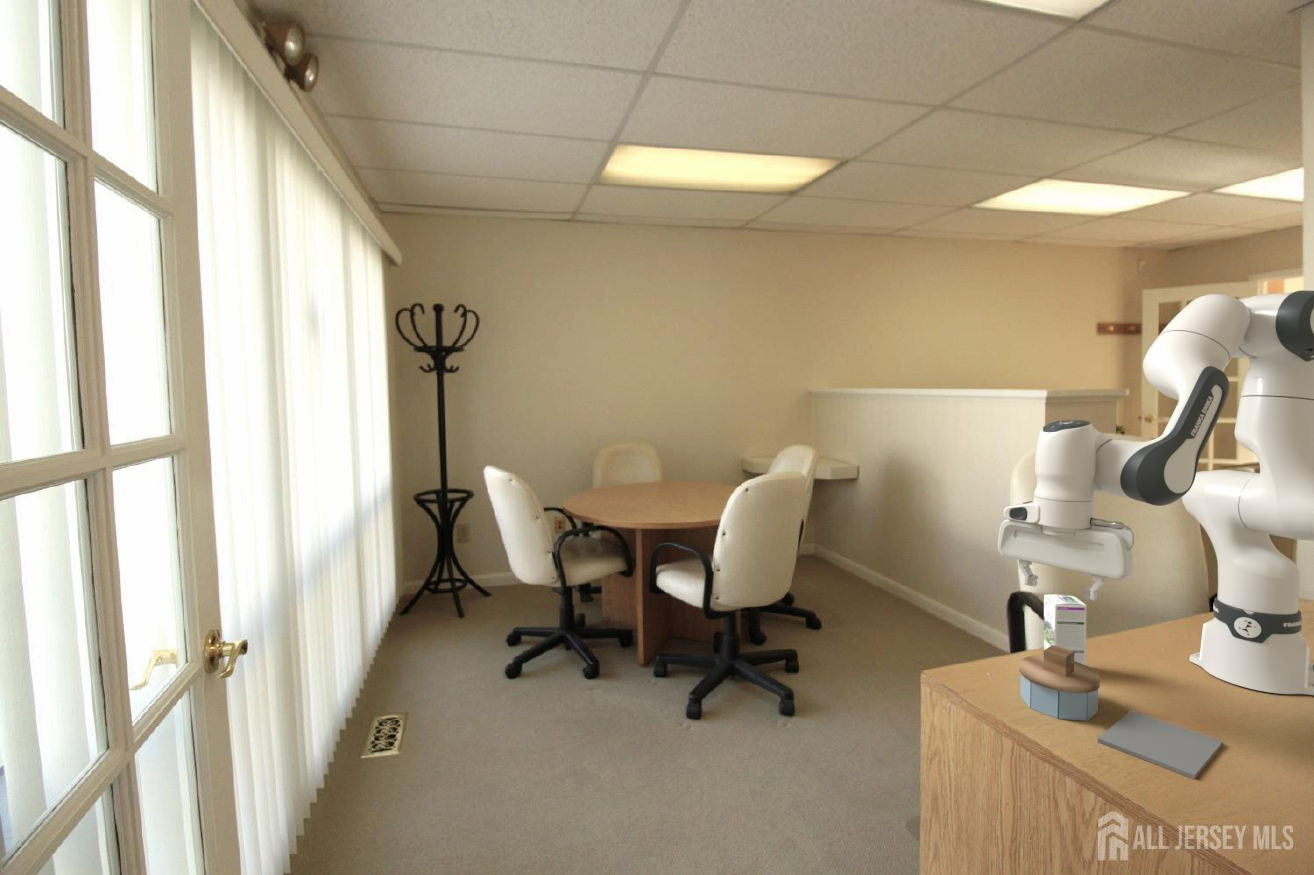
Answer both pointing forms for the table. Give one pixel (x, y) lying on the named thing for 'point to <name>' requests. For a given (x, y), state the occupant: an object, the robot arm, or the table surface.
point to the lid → (1059, 671)
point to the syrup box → (1065, 624)
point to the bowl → (1059, 701)
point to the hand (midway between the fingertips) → (1059, 591)
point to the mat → (1162, 743)
